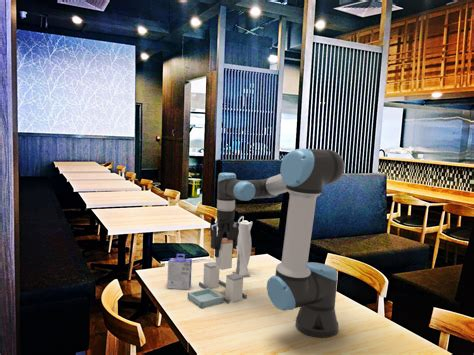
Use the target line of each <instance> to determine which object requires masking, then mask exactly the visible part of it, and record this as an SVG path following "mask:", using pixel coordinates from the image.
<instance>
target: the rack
mask: <svg viewBox="0 0 474 355" xmlns="http://www.w3.org/2000/svg"><path fill="white" fill-rule="evenodd" d="M215 262H216V261H210V262H205V263H203V280H202V281H203V282H201V281H199V282H198V286H199V287H200V288H202V289H207V288H210V289H212V288H217V287H219V286H221V287H224V288H225V296H224V295H222V294H221V293H219V292H218V291H216V290H214V289H212V290H214V291H215V292H217V293H219V294H220V295H222V296H224V303H226V304H227V305H229V304H230V303H235V302H240V301H242V300H243V299H244V300H246V299H247V298H248V296H247V293H246V294H245V293H244V292H243V291H244V290H243V289H244V277H243V276H241V275H239V274H237V273H235V274H233V273H231V274H227V275H225V276H226V277H225V282H224V281H222V280H221V279H220V270H221V269H219V268H217V267H215Z"/></svg>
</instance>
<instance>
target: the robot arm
mask: <svg viewBox="0 0 474 355" xmlns="http://www.w3.org/2000/svg"><path fill="white" fill-rule="evenodd" d="M279 172H280V173H278V174H277V175H274V176H273V175H272V176H271V177H268V178H264V179H249V180H248V179H246V180H245V179H244V180H242V179H241V180H240V179H237V175H236V173H234V172H220V173H219V174H218V175H217V176H218V178H217V197H216V202H217V203H216V219H217V220H216V223H214V224H211V225H210V232H211V234H210V235H211V236H210V238H211V239H210V248H211V249H213V250H214V257H215V262H216V264H217V265H221V250H220V246H221V241H222V238H224V235H225V233H226V238H227V239H230V240H233V248H232V256H233V255H234V249H235V248H236V247H237V245H238V234H239V228H238V227H239V223H238V222H236V221H235V220H234V219H235V209H236V200H239V201H245V202H246V201H250V200H252V199H254V200H255V199H265V198H268V199H271V198H275V197H278V196H279V195H281V194H284V193H287V192H288V194H289V199H288V207H287V214H286V223H285V231H284V240H283V248H282V256H281V262H280V263H277V265H276V268H275V274H274V275H272V276H270V277H269V278H268V279H267V282H266V290H267V295H268V298H269V300H270V302H271V303H272V305H273V306H274V307H275V308H276V309H277V310H280V311H283V312H285V311H286V312H287V311H293V310H294V309H295V310H296V309H297V308H299V310H298V313H297V315H296V318H295V327H296V329H297V330H298V331H299V332H301V333H302V334H305V335H307V336H310V337H313V338H314V337H315V338H330V337H333V336H335V335H337V333H338V331H339V322H338V320H337V319H338V318H337V314H336V309H335V308H336V298H337V288H338V287H337V286H338V285H337V284H338V272H337V270H336V269H335V268H334V267H332V266H330V265H328V264H324V263H320V262H311V261H310V262H309V256H310V255H309V254H310V248H311V239H312V233H313V225H314V219H315V218H314V217H315V211H316V203H317V198H318V197H319V196H320V195H323V194H322V193H323V187H324V186H325V185H332V184H335V183H337V182H338V181H339V180H340V179H341V178H342V177H343V175H344V172H345V162H344V160H343V158H342V156H341V155H340V154H339V153H338V152H336V151H335V150H331V149H321V148H320V149H318V148H297V149H293V150H291V151H288V153H287V154H286V155H285V156H284V158H283V159H282V161H281V164H280V171H279Z"/></svg>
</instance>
